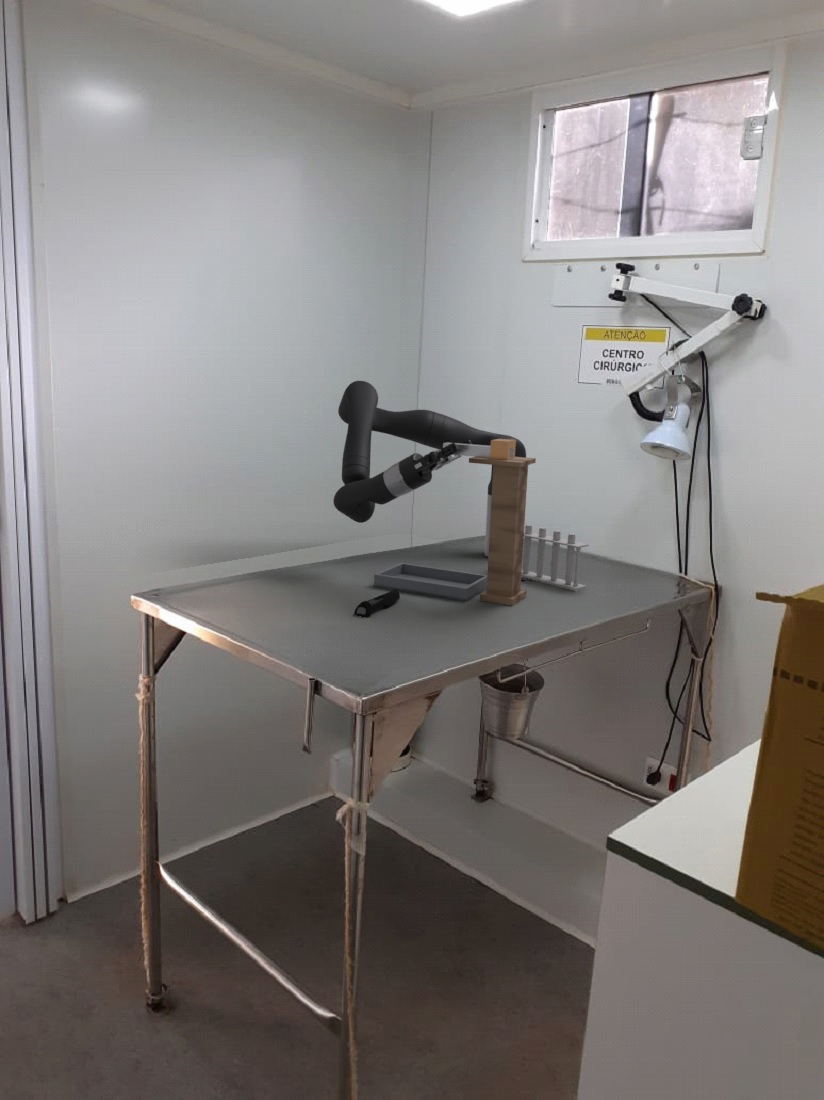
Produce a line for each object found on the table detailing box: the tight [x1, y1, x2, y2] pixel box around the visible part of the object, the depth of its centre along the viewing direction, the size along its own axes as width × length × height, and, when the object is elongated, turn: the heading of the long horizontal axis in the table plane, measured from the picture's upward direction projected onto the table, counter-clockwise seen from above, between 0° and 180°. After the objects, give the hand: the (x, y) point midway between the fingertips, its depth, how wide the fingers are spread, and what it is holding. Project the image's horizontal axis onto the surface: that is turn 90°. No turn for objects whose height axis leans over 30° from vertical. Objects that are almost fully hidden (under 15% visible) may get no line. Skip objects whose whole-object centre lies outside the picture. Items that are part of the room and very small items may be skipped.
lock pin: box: [443, 439, 516, 460], centre depth 194 cm, size 5×16×4 cm, turn 64°
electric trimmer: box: [353, 589, 401, 618], centre depth 187 cm, size 4×16×3 cm, turn 151°
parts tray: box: [373, 562, 487, 602], centre depth 205 cm, size 14×24×3 cm, turn 64°
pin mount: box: [468, 456, 536, 606], centre depth 195 cm, size 10×12×32 cm
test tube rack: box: [521, 523, 590, 592], centre depth 215 cm, size 25×4×13 cm, turn 43°
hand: (463, 445), depth 195 cm, fingers open, 8 cm apart
